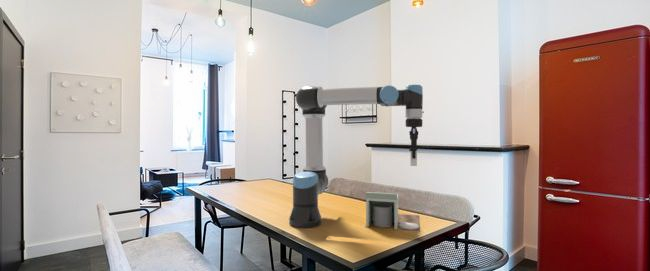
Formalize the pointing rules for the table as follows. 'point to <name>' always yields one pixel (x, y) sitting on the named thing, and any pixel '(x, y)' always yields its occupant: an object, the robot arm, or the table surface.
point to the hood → (381, 198)
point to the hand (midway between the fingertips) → (413, 164)
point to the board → (407, 221)
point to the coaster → (409, 225)
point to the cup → (382, 215)
